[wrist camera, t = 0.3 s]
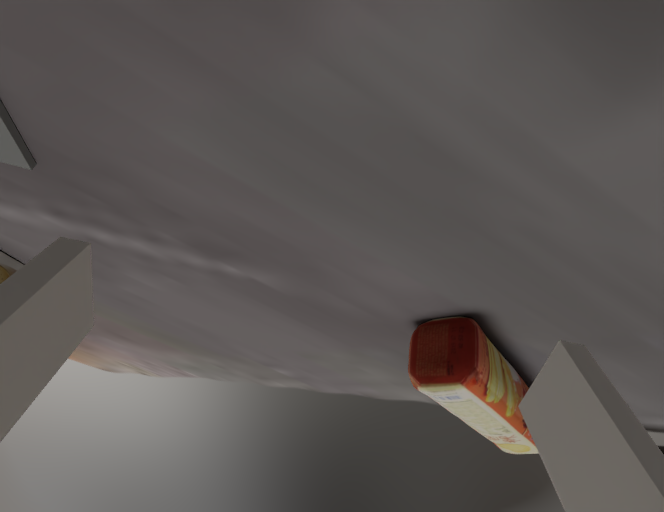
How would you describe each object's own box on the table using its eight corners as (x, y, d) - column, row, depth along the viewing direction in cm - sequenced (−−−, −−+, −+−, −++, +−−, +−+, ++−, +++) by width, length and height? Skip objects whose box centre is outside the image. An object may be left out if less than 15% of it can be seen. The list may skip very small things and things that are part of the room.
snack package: (551, 398, 48) (557, 464, 45) (491, 399, 52) (492, 460, 48) (480, 306, 35) (480, 388, 32) (407, 316, 39) (399, 390, 36)
